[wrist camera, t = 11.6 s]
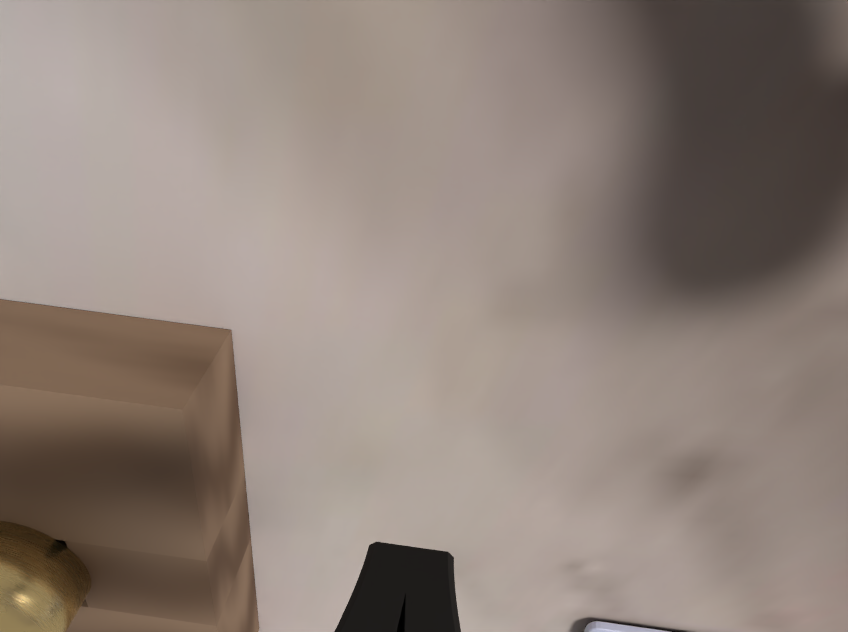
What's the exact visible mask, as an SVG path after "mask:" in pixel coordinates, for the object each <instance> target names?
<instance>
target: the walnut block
mask: <svg viewBox="0 0 848 632" xmlns="http://www.w3.org/2000/svg"><path fill="white" fill-rule="evenodd" d="M0 521H7V522H12V523H16V524H20V525H24V526H27V527H30V528H33V529H35V530H38V531H40V532H42V533H44V534H46V535H48V536H50V537H52V538H54V539H56V540H63V541H65V542H66V545H67V547H68V548H69V549H70V550H71V551H72V552H73V553H75V554H76V555H77V557H78V558H79V559H80V560H81V561H82V562H83V564H84V565H85V566H86V568H87V570H88V572H89V574H90V577H91V589H90V592H89V593H88V595H87V597H86V598H85V600H84V602H83V604H82V605H81V607H80V609H79V610H78V612H77V614H76V616H75V617H74V619H73V621H72V622H71V624H70V626H69V627H68V629H67V631H66V632H258V631H259V622H258V611H257V600H256V590H255V579H254V568H253V558H252V547H251V536H250V525H249V515H248V504H247V493H246V483H245V472H244V461H243V450H242V440H241V429H240V418H239V408H238V397H237V386H236V375H235V365H234V354H233V343H232V332H231V330H227V329H220V328H212V327H205V326H197V325H189V324H182V323H174V322H167V321H159V320H152V319H144V318H137V317H129V316H121V315H114V314H106V313H99V312H91V311H84V310H76V309H69V308H61V307H53V306H46V305H38V304H31V303H23V302H16V301H8V300H1V299H0Z"/></svg>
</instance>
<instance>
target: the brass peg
mask: <svg viewBox="0 0 848 632" xmlns="http://www.w3.org/2000/svg"><path fill="white" fill-rule="evenodd" d="M90 589H91V577H90V574H89V572H88V570H87V568H86V566H85V565H84V564H83V562H82V561H81V560H80V559H79V558H78V557H77V555H76V554H75V553H73V552H72V551H71V550H70V549H69V548H68V547H67V545H66V542H65V541H63V540H56V539H54V538H52V537H50V536H48V535H46V534H44V533H42V532H40V531H38V530H35V529H33V528H30V527H27V526H24V525H20V524H16V523H12V522H7V521H0V632H66V631H67V629H68V627H69V626H70V624H71V622H72V621H73V619H74V617H75V616H76V614H77V612H78V610H79V609H80V607H81V605H82V604H83V602H84V600H85V598H86V597H87V595H88V593H89V592H90Z"/></svg>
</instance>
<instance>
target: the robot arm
mask: <svg viewBox="0 0 848 632" xmlns="http://www.w3.org/2000/svg"><path fill="white" fill-rule="evenodd" d="M335 632H461V629H460V623H459V617H458V610H457V602H456V593H455V582H454V557H453V556H452V555H451V554H450V553H449V552H445V551H437V550H430V549H423V548H416V547H409V546H402V545H395V544H388V543H381V542H375V543H373V544H371V545H369V548H368V552H367V555H366V559H365V562H364V565H363V567H362V570H361V573H360V575H359V578H358V581H357V583H356V586H355V588H354V591H353V593H352V595H351V598H350V600H349V602H348V604H347V606H346V609H345V611H344V613H343V615H342V617H341V620H340V622H339V624H338V626H337V628H336V630H335ZM584 632H670V631H663V630H656V629H650V628H643V627H636V626H629V625H622V624H615V623H608V622H601V621H594V622H591V623H589V624H588V625H587V626H586V628H585V630H584Z"/></svg>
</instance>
